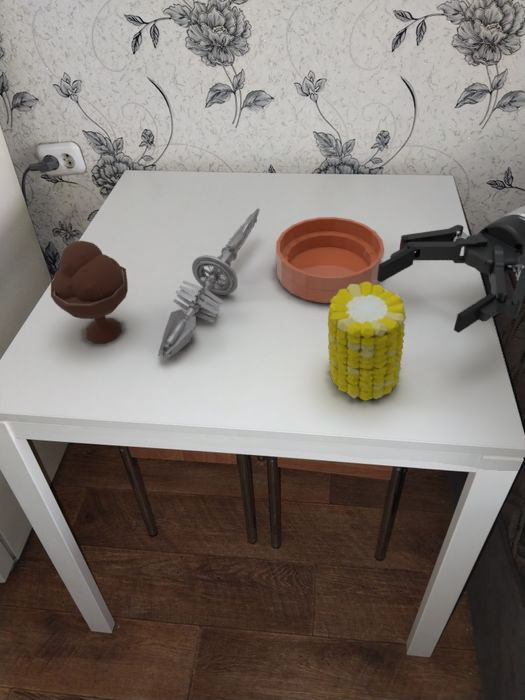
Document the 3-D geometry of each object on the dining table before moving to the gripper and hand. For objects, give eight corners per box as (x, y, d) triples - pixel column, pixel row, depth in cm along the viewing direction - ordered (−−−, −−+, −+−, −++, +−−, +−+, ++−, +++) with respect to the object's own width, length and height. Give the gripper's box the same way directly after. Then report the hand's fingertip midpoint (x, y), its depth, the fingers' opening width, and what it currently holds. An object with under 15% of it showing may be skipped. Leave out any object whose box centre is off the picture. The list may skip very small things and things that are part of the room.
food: (408, 384, 82) (357, 423, 78) (349, 329, 87) (298, 364, 83) (444, 318, 70) (385, 361, 66) (373, 258, 74) (314, 295, 70)
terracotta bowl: (398, 265, 100) (403, 237, 96) (344, 320, 90) (347, 291, 86) (314, 233, 108) (315, 206, 104) (256, 280, 98) (254, 253, 94)
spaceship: (284, 204, 100) (243, 182, 100) (192, 354, 80) (140, 326, 80) (271, 235, 106) (232, 214, 106) (182, 381, 86) (134, 356, 86)
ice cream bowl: (53, 346, 88) (21, 264, 78) (95, 302, 95) (70, 221, 85) (113, 364, 85) (88, 281, 75) (152, 316, 92) (134, 234, 82)
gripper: (585, 299, 82) (488, 369, 73) (444, 225, 97) (349, 276, 88) (605, 255, 77) (503, 324, 68) (453, 183, 92) (353, 233, 83)
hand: (416, 297), depth 78 cm, fingers open, 13 cm apart
